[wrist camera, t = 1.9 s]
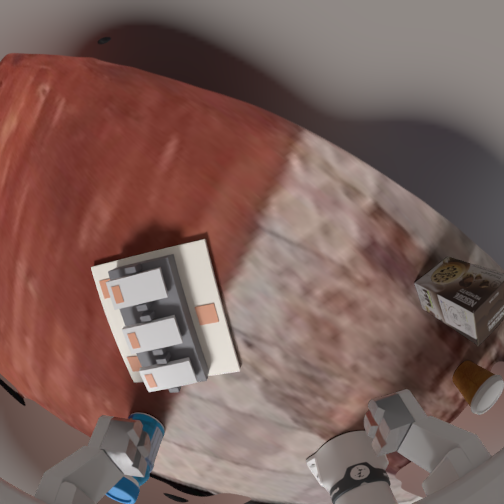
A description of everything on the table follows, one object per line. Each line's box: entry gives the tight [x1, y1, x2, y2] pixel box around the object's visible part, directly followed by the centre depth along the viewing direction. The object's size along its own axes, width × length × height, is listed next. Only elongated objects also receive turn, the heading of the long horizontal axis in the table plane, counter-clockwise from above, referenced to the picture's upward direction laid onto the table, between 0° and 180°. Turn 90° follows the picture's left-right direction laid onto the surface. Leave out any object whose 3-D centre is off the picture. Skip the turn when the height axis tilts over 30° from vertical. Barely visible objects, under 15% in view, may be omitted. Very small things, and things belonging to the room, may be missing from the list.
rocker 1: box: [106, 267, 168, 310], centre depth 36 cm, size 4×8×1 cm, turn 102°
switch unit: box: [91, 239, 240, 393], centre depth 39 cm, size 22×20×6 cm
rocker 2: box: [122, 315, 183, 354], centre depth 37 cm, size 4×8×1 cm, turn 102°
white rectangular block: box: [139, 357, 197, 392], centre depth 38 cm, size 4×8×1 cm, turn 103°
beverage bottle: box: [105, 412, 165, 504], centre depth 37 cm, size 8×8×20 cm
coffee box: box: [414, 257, 504, 346], centre depth 34 cm, size 9×6×16 cm
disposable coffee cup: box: [453, 360, 504, 415], centre depth 39 cm, size 10×10×12 cm
